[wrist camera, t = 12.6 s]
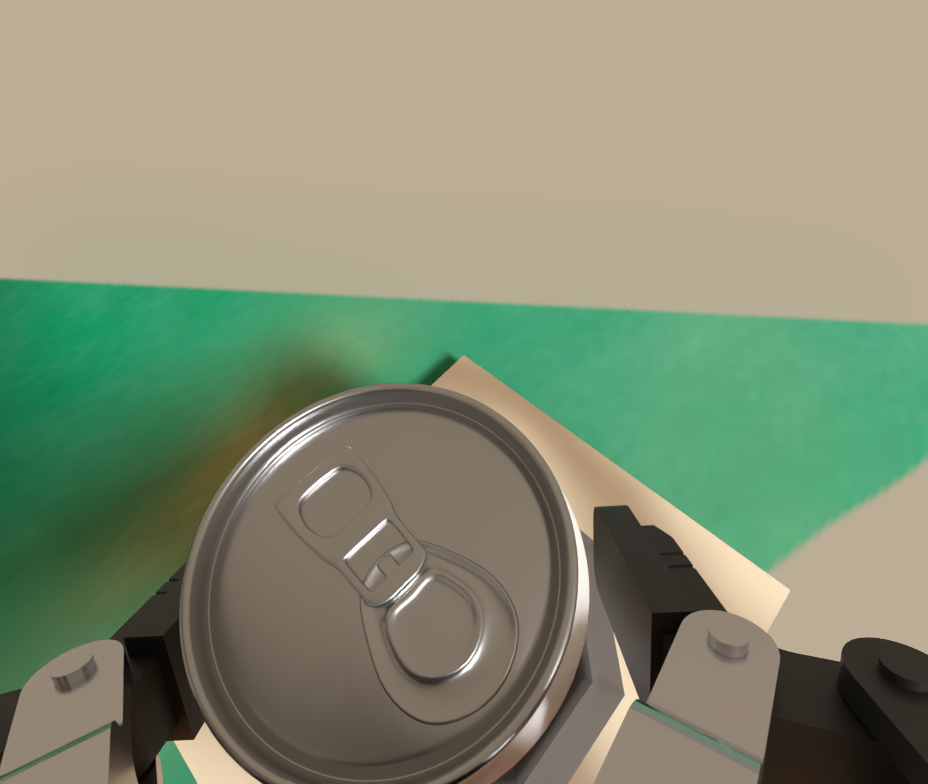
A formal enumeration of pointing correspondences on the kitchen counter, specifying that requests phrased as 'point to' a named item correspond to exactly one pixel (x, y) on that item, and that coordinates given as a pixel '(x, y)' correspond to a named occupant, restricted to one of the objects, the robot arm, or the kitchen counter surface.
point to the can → (385, 594)
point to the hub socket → (601, 664)
